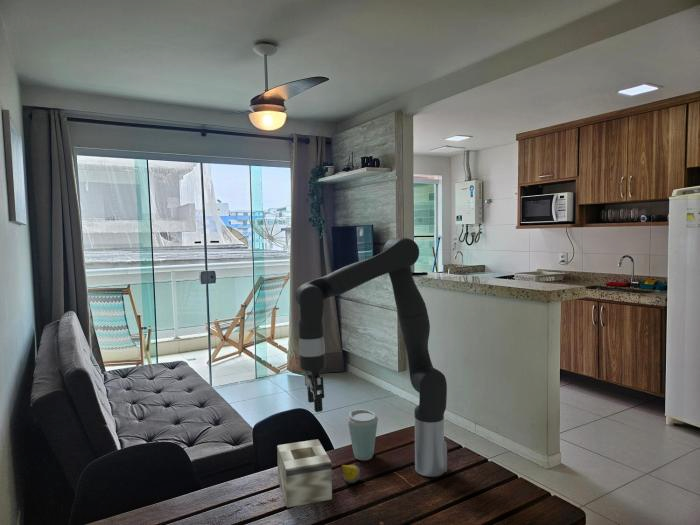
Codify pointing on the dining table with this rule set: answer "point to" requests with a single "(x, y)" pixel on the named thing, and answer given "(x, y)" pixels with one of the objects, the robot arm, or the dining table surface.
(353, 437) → the disposable coffee cup
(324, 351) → the robot arm
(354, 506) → the dining table surface
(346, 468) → the drill bit
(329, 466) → the socket block
